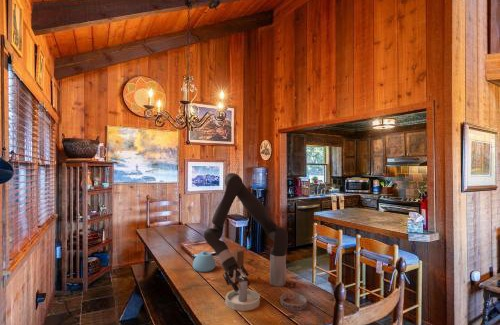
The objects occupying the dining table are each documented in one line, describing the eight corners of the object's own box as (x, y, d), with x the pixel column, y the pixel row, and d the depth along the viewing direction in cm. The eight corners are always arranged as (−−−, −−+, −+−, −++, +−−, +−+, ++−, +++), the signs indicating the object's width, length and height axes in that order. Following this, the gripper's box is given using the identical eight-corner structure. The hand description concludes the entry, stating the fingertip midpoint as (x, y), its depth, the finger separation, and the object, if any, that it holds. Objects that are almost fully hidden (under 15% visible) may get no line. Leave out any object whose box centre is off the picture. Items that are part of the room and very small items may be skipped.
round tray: (241, 291, 157) (241, 286, 157) (266, 301, 146) (266, 295, 146) (218, 302, 143) (218, 296, 143) (244, 314, 133) (244, 308, 133)
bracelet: (275, 305, 142) (275, 299, 142) (287, 295, 154) (287, 290, 154) (300, 314, 135) (300, 307, 135) (311, 302, 146) (311, 296, 146)
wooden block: (229, 283, 167) (230, 252, 167) (226, 280, 171) (227, 250, 171) (243, 280, 171) (244, 250, 171) (240, 278, 175) (240, 248, 175)
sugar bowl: (211, 273, 182) (211, 255, 182) (188, 271, 185) (189, 253, 185) (218, 265, 196) (218, 249, 196) (197, 264, 199) (198, 247, 199)
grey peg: (242, 297, 148) (242, 279, 148) (248, 299, 145) (249, 282, 145) (236, 300, 144) (236, 282, 145) (243, 303, 142) (243, 284, 142)
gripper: (221, 259, 145) (237, 288, 137) (240, 253, 156) (256, 280, 148) (214, 267, 148) (229, 296, 141) (232, 260, 159) (248, 287, 152)
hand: (243, 288), depth 144 cm, fingers open, 8 cm apart
